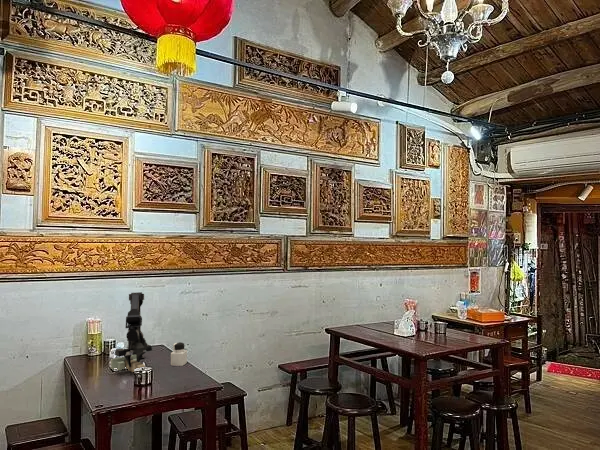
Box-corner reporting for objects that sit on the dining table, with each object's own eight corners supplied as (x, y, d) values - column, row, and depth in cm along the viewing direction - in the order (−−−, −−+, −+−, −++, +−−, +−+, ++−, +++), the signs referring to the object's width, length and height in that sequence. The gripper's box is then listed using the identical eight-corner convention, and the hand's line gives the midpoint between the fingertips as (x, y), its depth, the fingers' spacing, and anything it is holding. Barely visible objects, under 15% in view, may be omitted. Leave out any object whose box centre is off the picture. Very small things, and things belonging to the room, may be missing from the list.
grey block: (110, 369, 265) (110, 358, 265) (138, 363, 276) (138, 353, 276) (114, 371, 261) (114, 360, 261) (143, 365, 272) (143, 354, 272)
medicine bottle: (187, 362, 277) (187, 341, 277) (182, 366, 270) (182, 344, 270) (175, 362, 278) (175, 341, 278) (170, 365, 271) (170, 344, 271)
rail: (124, 368, 267) (124, 359, 267) (130, 367, 269) (130, 357, 269) (138, 375, 253) (138, 365, 254) (144, 374, 256) (144, 364, 256)
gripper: (122, 342, 250) (123, 372, 250) (156, 336, 263) (156, 365, 262) (114, 339, 258) (114, 368, 258) (147, 333, 271) (147, 361, 271)
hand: (133, 366), depth 262 cm, fingers open, 4 cm apart
